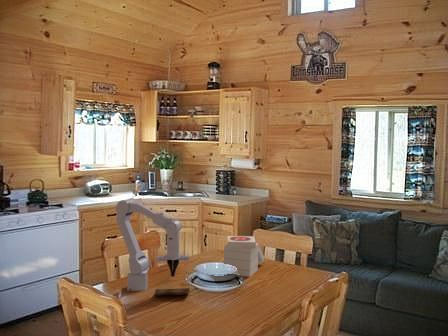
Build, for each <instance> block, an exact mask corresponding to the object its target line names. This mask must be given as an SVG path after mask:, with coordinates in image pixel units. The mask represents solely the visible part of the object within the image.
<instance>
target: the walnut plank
mask: <svg viewBox="0 0 448 336" xmlns="http://www.w3.org/2000/svg"><path fill="white" fill-rule="evenodd" d="M181 288H182V289H177V288H155V289H154V296H155V297H157V296H183V295H184V296H186V295H187V296H188V295H189V294H190V287H189V288H188V287H187V288H186V287H185V288H184V287H181Z"/></svg>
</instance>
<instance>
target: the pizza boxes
mask: <svg viewBox="0 0 448 336" xmlns="http://www.w3.org/2000/svg"><path fill="white" fill-rule="evenodd" d="M259 244H260V243H257V242H256V237H255V236H252V235H251V236H250V235H249V236H247V235H244V236H243V235H227V244H225V245H224V246H223V265H224V264H229V265H232V266H235V267H236V268H237V270H238V274H240V275H241V277H249V278H250V277H251V276H253V275H254V274H255V273H256V272H257V271H258V270H259V263H264V260H265V256H264V254H263V250H262V248H261V246H260V245H259Z"/></svg>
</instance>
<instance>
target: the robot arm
mask: <svg viewBox="0 0 448 336" xmlns="http://www.w3.org/2000/svg"><path fill="white" fill-rule="evenodd" d="M114 209H115V210H116V211H115V212H116V216H115V217H116V219H115V220H116V223H117V226H118V229H119V230H120V234H121V236H122V238H123V242H124V243H125V246H126V250H127V252H128V254H129V257H128V261H127V262H128V265H129V266H128V267H129V271H130V272H127V284H126V290H127V292H131V291H132V292H134V291H136V292H140V291H141V292H143V291H146V290H147V289H148V270H149V268H150V266H151V262H150V259H149V258H148V257H147V255H146V253H145V252H143V251H142V250H141V248H140V245H139V243H138V241H137V237H136V234H135V233H134V230H133V227H132V225H131V222H130V219H131V217H132V215H133V214H134V213H139V214H141V215H143V216H145V217H147V218H149V219H151V220H152V222H153V224H154V225H156V226H158V227H160V228H161V229H163V230H165V232H166V254H165V255H164V254H163V255H157V256H156V262H163V261H164V262H167V263H166V264H167V266H168V268H169V271H170V276H171V277H175V274H176V272H177V271H176V270H177V268H178V266H179V264H180V261H188V262H189V261H190V256H189V255H186V254H183V255H182V254H180V239H181V236H180V233H181V232H180V231H181V230H182V226H183V225H182V222H181V221H180V220H178V219H173V217H169V216H168V215H166V214H165V212H162V211H159V212H156V211H154V210H152V209H151V208H149V207H147V206H146V205H145V204H143V203H142V202H140V200H138V199H135V198H132V197H131V198H128V199H123V200H120V201H118V202H117V204H116V205H115V208H114ZM171 277H170V278H171Z"/></svg>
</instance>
